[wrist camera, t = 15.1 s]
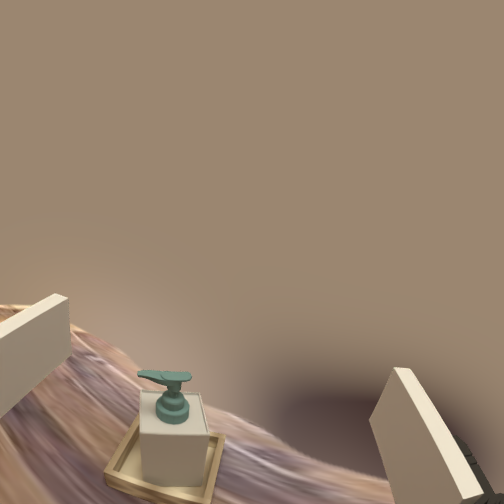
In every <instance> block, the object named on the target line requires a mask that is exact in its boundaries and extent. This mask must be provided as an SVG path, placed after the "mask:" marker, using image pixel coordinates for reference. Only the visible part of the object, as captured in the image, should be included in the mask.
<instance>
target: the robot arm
mask: <svg viewBox="0 0 504 504" xmlns="http://www.w3.org/2000/svg"><path fill="white" fill-rule="evenodd" d="M68 301H69V298H67V297H64V296H61V295H59V294H56V293H55V294H53V295H51V296H49V297H47V298H45V299H43V300H41V301H40V302H38V303H36V304H34V305H32V306H30V307H28V308H27V309H25V310H23V311H21V312H19V313H17V314H16V315H14V316H12V317H10V318H8V319H7V320H5V321H3V322H1V323H0V418H1V417H2V416H3V415H4V414H6V413H7V412H8V411H9V410H10V409H11V408H12V407H13V406H14V405H15V404H16V403H18V402H19V401H20V400H21V399H22V398H23V397H24V396H25V395H26V394H27V393H29V392H30V391H31V390H32V389H33V388H34V387H35V386H36V385H38V384H39V383H40V382H41V381H42V380H43V379H44V378H45V377H47V376H48V375H49V374H50V373H51V372H52V371H53V370H55V369H56V368H57V367H58V366H59V365H60V364H61V363H63V362H64V361H65V360H66V359H67V358H68V357H69V356H71V355H72V347H71V336H70V321H69V302H68ZM369 421H370V424H371V427H372V430H373V433H374V436H375V439H376V442H377V445H378V448H379V451H380V455H381V458H382V461H383V464H384V467H385V471H386V474H387V477H388V480H389V484H390V487H391V490H392V494H393V497H394V501H395V504H504V494H502V493H499V494H495V493H494V491H493V489H492V488H491V486H490V484H489V482H488V480H487V479H486V477H485V475H484V473H483V472H482V470H481V468H480V466H479V465H477V461H476V460H475V458H474V457H473V456H472V453H471V451H470V449H469V448H468V446H467V444H466V443H465V442H463V441H462V440H461V439H460V438H459V437H458V436H452V435H451V433H450V432H449V430H448V428H447V427H446V425H445V423H444V422H443V420H442V418H441V417H440V415H439V413H438V412H437V410H436V408H435V407H434V405H433V404H432V402H431V400H430V399H429V397H428V396H427V394H426V393H425V391H424V389H423V388H422V387H421V385H420V383H419V382H418V380H417V379H416V377H415V375H414V374H413V372H412V371H411V369H407V368H396V367H394V368H393V370H392V373H391V375H390V377H389V380H388V382H387V384H386V386H385V388H384V391H383V393H382V395H381V398H380V399H379V401H378V403H377V406H376V408H375V410H374V412H373V414H372V416H371V418H370V419H369Z"/></svg>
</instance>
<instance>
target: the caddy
mask: <svg viewBox="0 0 504 504" xmlns="http://www.w3.org/2000/svg"><path fill="white" fill-rule="evenodd" d="M209 432H210V431H209ZM225 437H226V435H224V434H219V433H215V432H210V438H209V444H208V450H207V456H206V463H205V469H204V475H203V482H202V486H157V485H153V484H150V483H147V482H144V481H143V473H142V462H141V449H140V433H139V413H138V415H137V417H136V418H135V420H134V422H133V423H132V425H131V427H130V428H129V430H128V432H127V433H126V435H125V437H124V438H123V440H122V442H121V443H120V445H119V447H118V448H117V450H116V452H115V453H114V455H113V457H112V458H111V460H110V462H109V463H108V465H107V467H106V468H105V470H104V476H105V480H106V483H107V486H109V487H112V488H114V489H117V490H119V491H122V492H125V493H127V494H130V495H133V496H135V497H138V498H141V499H144V500H147V501H150V502H153V503H156V504H210V503H211V498H212V494H213V490H214V486H215V481H216V477H217V473H218V468H219V464H220V460H221V455H222V451H223V446H224V442H225Z"/></svg>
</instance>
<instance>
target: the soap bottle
mask: <svg viewBox="0 0 504 504" xmlns="http://www.w3.org/2000/svg"><path fill="white" fill-rule="evenodd" d="M137 375H138V377H142V378H146V379H149V380H151V381H153V382H156V383H158V384H161V385H164V386H167V389H168V390H167V391H155V390H140V411H139V433H140V449H141V462H142V473H143V481H144V482H147V483H150V484H153V485H157V486H202V482H203V475H204V469H205V463H206V456H207V450H208V444H209V438H210V432H209V428H208V424H207V420H206V416H205V411H204V407H203V403H202V399H201V394H200V393H199V392H180V390H181V383H182V382H186V381H190V380H191V378H192V376H191V374H190V373H189V372H170V371H163V372H162V371H152V370H142V371H138V373H137Z"/></svg>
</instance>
